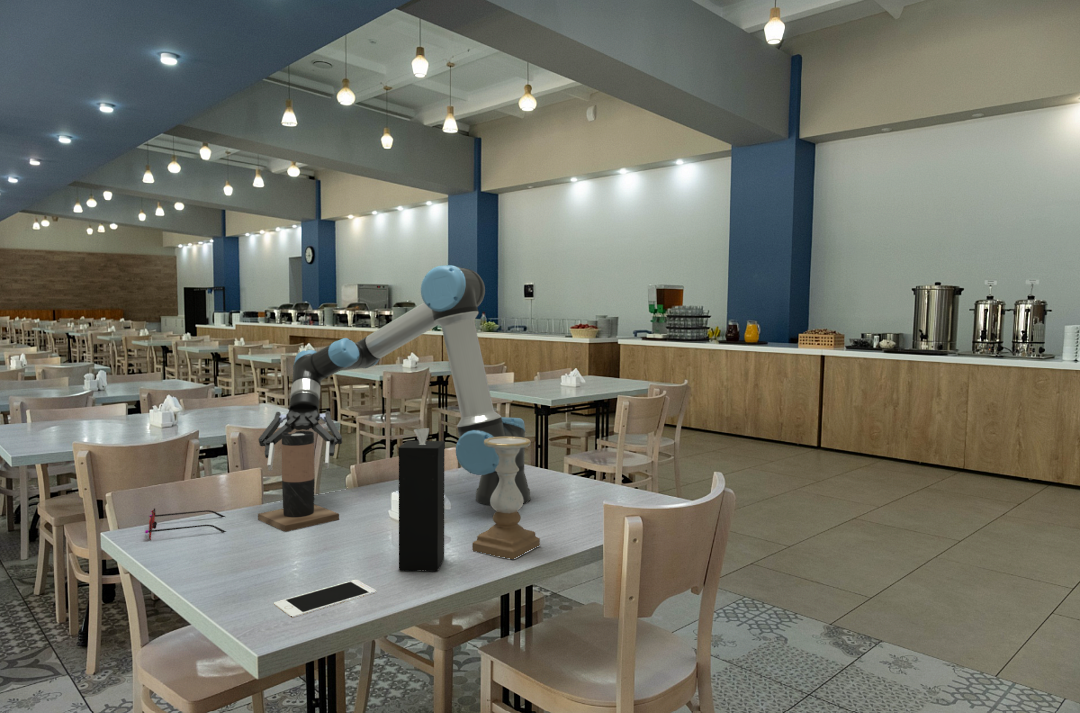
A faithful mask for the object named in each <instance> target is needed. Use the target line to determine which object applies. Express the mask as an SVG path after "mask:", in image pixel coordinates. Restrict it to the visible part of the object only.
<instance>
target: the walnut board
mask: <svg viewBox="0 0 1080 713" xmlns="http://www.w3.org/2000/svg"><path fill="white" fill-rule="evenodd" d="M257 520H258V521H260V522H263V523H265V524H267V525H270V526H271V527H273V528H276V529H278V530H280V531H283V532H284V533H286V532H290V531H291V530H292V531H295V530H299V529H303V528H304V529H305V528H309V527H312V526H318V525H321V524H325V523H330V522H334V521H338V520H340V513H338V512H336V511H333V510H332V509H328V508H325V507H322V506H320V505H317V504H315V503H314V513H313V514H311V515H308V516H304V517H287V516H284V513H283V508H279V509H274V510H270V511H269V510H268V511H264V512H260V513H257Z"/></svg>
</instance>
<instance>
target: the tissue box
mask: <svg viewBox="0 0 1080 713" xmlns="http://www.w3.org/2000/svg"><path fill="white" fill-rule="evenodd" d="M413 431H414V434H415V436H416V438H417V440H406V441H405V442H404V443H402V444H401V445H399V447H398V453H397V455H398V571H399V570H400V571H403V570H404V571H405V570H409V571H408V572H410V570H411V572H418V571H417V570H421V571H420V572H438V571H439V570H438V569H440V568H439V567H441V566H442V563H443V562H444V559H445V450H446V441H445V440H427V439H428V436H429V432H430V428H429V427H428V428H427V427H426V428H420V429H419V428H415V429H413ZM413 570H414V571H413ZM422 570H424V571H422ZM425 570H426V571H425Z"/></svg>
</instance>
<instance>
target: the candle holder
mask: <svg viewBox="0 0 1080 713" xmlns="http://www.w3.org/2000/svg"><path fill="white" fill-rule="evenodd" d="M484 445H485V446H487V447H491V448H495V452H496V453H497V455H498V456H499V463H498V465H497V467H496V468H495V471H496V472H497V474H498V476H499V483H498V485H497V487H496V489H495V490H494V492H493V493H492V495H491V498H490V504H491V505H490V506H491V508H492V509H493V510H495V512H494V513H493V516H492V521H493V522H494V524H493V525H492V526H490V527H489V529H488V530H485V531H483V532H481V533H479V534H478V535H477V536H476V540H475V541H473V542H472V548H471V550H473V552H475V551H477V552H476V553H478V552H482V553H481V554H483V553H486V554H485V555H487V554H491V555H495V556H500V557H505V558H510V559H514V558H516V557H518V556H520V555H522V554H524V553H525V552H527V551H529V550H531V549H533V548H535V547H537V546H539V545H540V546H541V542H540V541H541V540H540V539H541V538H540V537H538V536H536V532H535V531H534V530H530V529H527V528H526V529H525V528H524V527H523V526H522V525H520V524H519V522H521V514H520V512H519V510H520V509H521V508H522V506H524V504H523V502H524V500H523V496H522V494H521V492H520V490H519V489H518V487H517V485H516V483H515V476H516V474H517V472H518V471H519V468H518V467H517V465H516V463H515V458H516V455H517V454H518V452H519V450H520V448H524V447H525V448H527V447H529V446H530V445H531V440H530V438H526V437H525V438H523V437H511V436H503V437H492V438H487V439H485V440H484ZM491 555H490V556H491ZM495 556H494V557H495ZM500 557H499V558H500Z"/></svg>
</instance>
